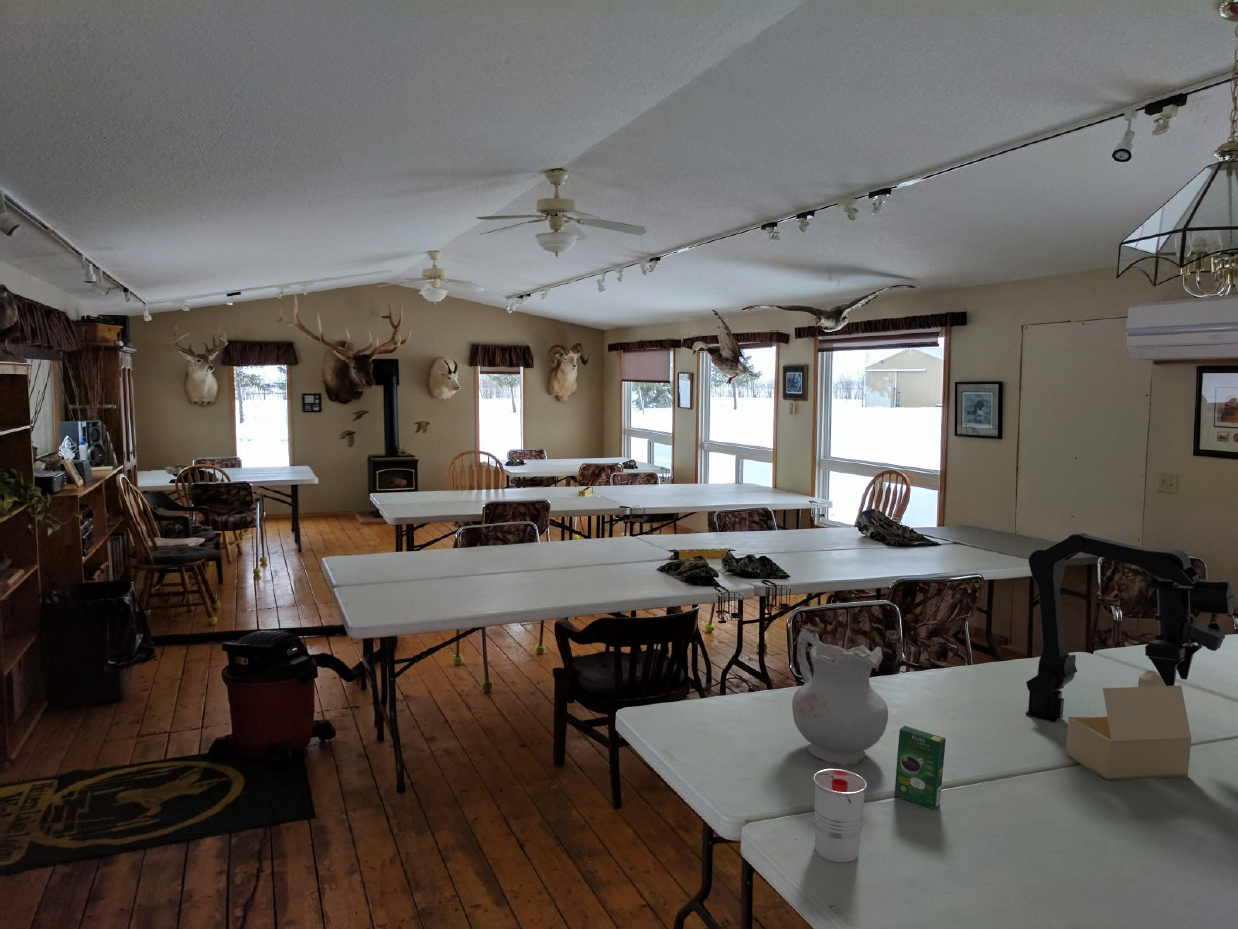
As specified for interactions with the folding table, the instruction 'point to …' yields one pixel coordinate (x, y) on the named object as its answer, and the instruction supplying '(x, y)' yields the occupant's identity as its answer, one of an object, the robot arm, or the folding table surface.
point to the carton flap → (1146, 713)
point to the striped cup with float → (838, 814)
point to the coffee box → (919, 767)
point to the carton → (1124, 752)
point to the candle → (1150, 679)
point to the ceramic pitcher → (838, 700)
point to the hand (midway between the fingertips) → (1177, 684)
